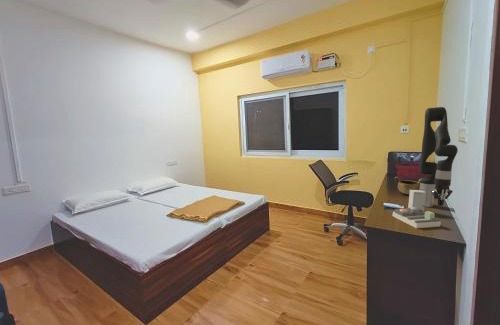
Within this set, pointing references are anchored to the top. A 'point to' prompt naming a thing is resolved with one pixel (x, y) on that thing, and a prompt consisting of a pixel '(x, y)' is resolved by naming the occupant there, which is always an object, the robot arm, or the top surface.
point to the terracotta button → (403, 210)
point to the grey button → (415, 209)
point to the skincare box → (417, 199)
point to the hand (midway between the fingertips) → (440, 205)
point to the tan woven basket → (407, 185)
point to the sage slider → (429, 215)
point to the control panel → (416, 218)
